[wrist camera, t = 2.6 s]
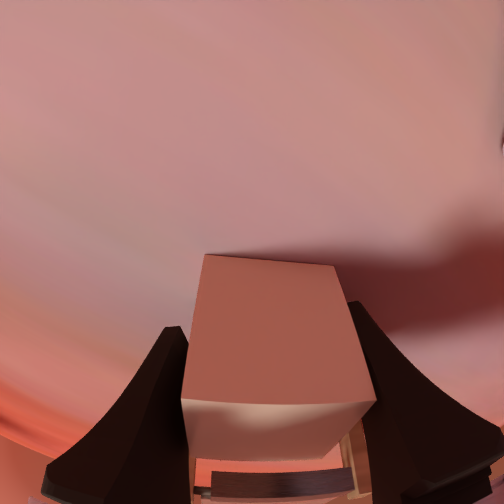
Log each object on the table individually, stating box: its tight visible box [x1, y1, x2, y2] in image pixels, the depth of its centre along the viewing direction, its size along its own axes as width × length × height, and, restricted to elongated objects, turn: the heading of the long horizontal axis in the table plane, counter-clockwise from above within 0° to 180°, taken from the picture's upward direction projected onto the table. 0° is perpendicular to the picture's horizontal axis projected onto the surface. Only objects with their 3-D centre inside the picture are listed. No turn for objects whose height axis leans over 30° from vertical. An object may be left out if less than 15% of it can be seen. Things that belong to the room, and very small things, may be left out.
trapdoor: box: [201, 467, 355, 504], centre depth 14 cm, size 8×8×1 cm
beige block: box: [181, 255, 377, 461], centre depth 10 cm, size 5×5×6 cm
